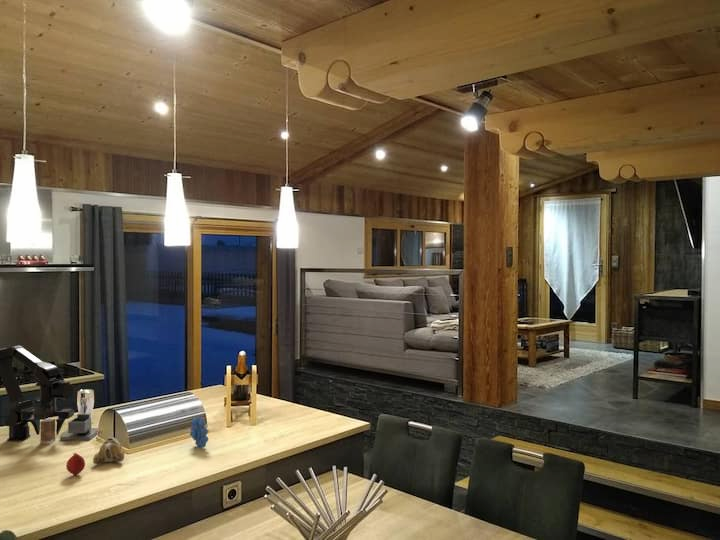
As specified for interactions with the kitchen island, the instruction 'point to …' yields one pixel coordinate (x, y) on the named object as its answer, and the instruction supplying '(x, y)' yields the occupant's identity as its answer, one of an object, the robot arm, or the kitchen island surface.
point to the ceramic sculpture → (109, 452)
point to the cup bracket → (80, 428)
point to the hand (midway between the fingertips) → (47, 434)
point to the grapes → (199, 432)
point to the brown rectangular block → (47, 431)
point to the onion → (75, 464)
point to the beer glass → (85, 401)
